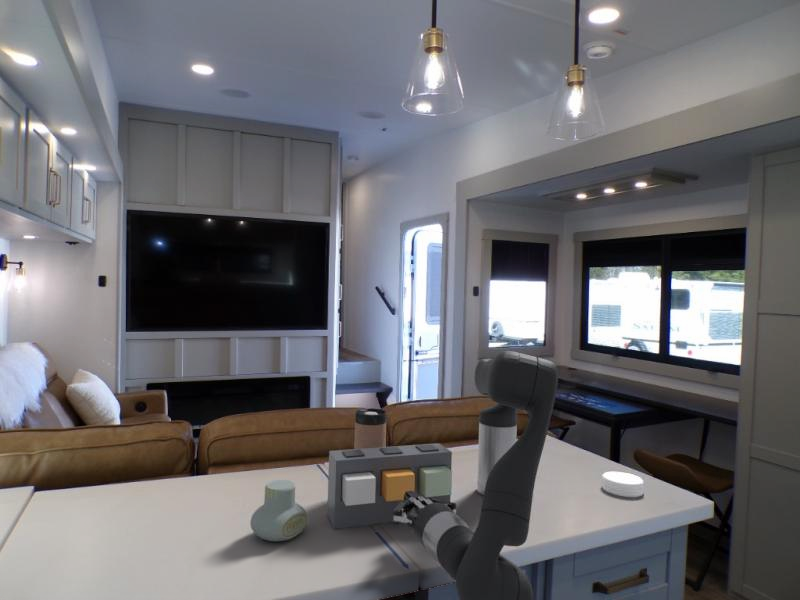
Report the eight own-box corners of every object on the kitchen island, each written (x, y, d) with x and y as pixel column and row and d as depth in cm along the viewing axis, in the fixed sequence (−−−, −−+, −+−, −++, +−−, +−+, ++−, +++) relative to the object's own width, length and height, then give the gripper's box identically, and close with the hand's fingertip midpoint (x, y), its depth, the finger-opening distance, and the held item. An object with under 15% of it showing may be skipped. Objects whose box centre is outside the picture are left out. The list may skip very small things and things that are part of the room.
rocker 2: (438, 483, 116) (438, 461, 116) (451, 494, 110) (452, 471, 110) (413, 485, 114) (414, 463, 114) (425, 497, 108) (426, 473, 108)
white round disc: (601, 494, 130) (601, 480, 130) (601, 481, 139) (602, 468, 139) (644, 501, 126) (645, 486, 126) (642, 487, 135) (642, 474, 135)
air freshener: (273, 552, 95) (275, 498, 95) (242, 540, 99) (244, 488, 99) (313, 530, 104) (314, 481, 104) (283, 520, 108) (284, 473, 108)
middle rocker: (402, 486, 113) (403, 464, 113) (414, 498, 107) (414, 474, 107) (376, 489, 111) (377, 466, 111) (386, 501, 105) (387, 477, 105)
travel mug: (380, 501, 120) (382, 416, 120) (348, 498, 121) (351, 413, 121) (387, 489, 127) (389, 409, 127) (357, 486, 129) (360, 407, 129)
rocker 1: (365, 490, 111) (366, 467, 111) (375, 502, 104) (375, 478, 104) (338, 492, 109) (339, 469, 109) (346, 505, 102) (346, 480, 102)
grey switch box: (437, 503, 120) (439, 441, 120) (449, 515, 113) (451, 450, 113) (327, 515, 111) (329, 449, 111) (334, 529, 105) (336, 459, 105)
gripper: (480, 507, 88) (439, 474, 104) (408, 516, 83) (377, 479, 100) (479, 551, 88) (438, 511, 104) (406, 562, 83) (375, 518, 100)
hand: (408, 495), depth 102 cm, fingers closed
